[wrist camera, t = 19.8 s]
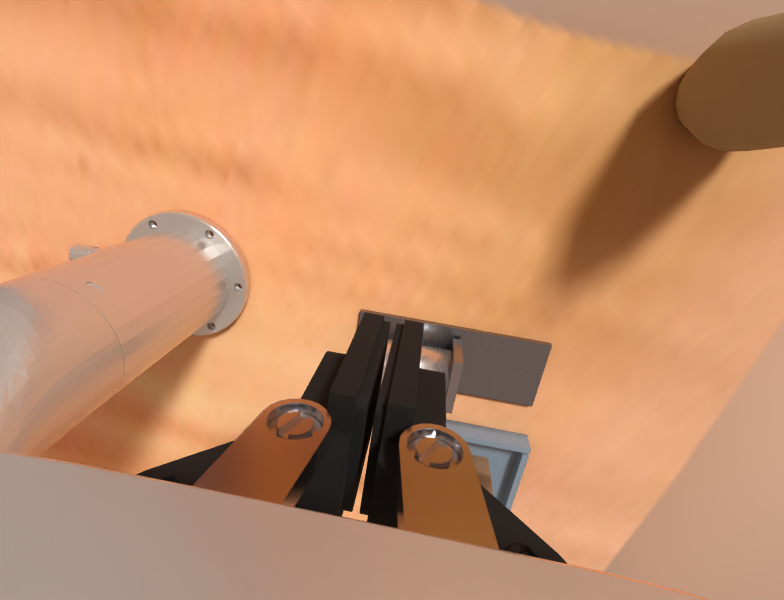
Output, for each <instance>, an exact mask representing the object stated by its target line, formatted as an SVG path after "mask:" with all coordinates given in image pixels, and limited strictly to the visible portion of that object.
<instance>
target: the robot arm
mask: <svg viewBox="0 0 784 600" xmlns="http://www.w3.org/2000/svg"><path fill="white" fill-rule="evenodd" d="M212 232H213V233H214V234H213V233H212ZM69 258H70V260H71V261H68V262H65V263H62V264H59V265H56V266H52V267H49V268H46V269H43V270H40V271H37V272H34V273H31V274H28V275H25V276H22V277H19V278H16V279H13V280H10V281H7V282H4V283H1V284H0V600H709V599H706V598H703V597H700V596H697V595H694V594H690V593H687V592H684V591H681V590H677V589H673V588H669V587H664V586H661V585H657V584H652V583H648V582H644V581H640V580H636V579H632V578H628V577H624V576H620V575H615V574H612V573H608V572H603V571H598V570H593V569H589V568H584V567H579V566H575V565H570V564H567V563H566V562H565V561H564V559H563V558H562V557H561V556H560V555H559V554H558V553H557V552H555V551H554V550H553V549H552V548H551V547H550V546H549V545H548V544H547V543H545V542H544V541H543V540H542V539H541V538H540V537H539V536H538V535H537V534H535V533H534V532H533V531H532V530H531V529H530V528H529V527H528V526H526V525H525V524H524V523H523V522H522V521H521V520H520V519H519V518H518V517H516V516H515V515H514V514H513V513H512V512H511V511H510V510H509V509H508V508H506V507H505V506H504V505H503V504H502V503H501V502H500V501H499V500H497V499H496V498H495V497H494V496H493V495H492V494H491V493H490V492H489V491H487V490H486V489H485V488H484V487H483V486H482V485H481V484H480V482H479V478H478V475H477V472H476V468H475V465H474V461H473V458H472V454H471V451H470V449H469V447H468V445H467V443H466V442H465V441H464V440H463V438H462V437H461V436H460V435H458V434H457V433H455V432H454V431H452V430H450V429H448V428H446V381H445V373H443V372H438V371H433V370H427V369H422V368H420V360H421V350H422V340H423V330H424V323H422V322H417V321H411V320H406V319H405V323H404V324H399V323H397V324H396V328H395V332H394V336H393V340H392V344H391V348H390V352H389V356H388V360H387V364H386V368H385V372H384V376H383V380H382V375H383V369H384V362H385V356H386V350H387V343H388V337H389V331H390V324H391V322H388V321H384V316H383V315H378V314H372V313H367V312H365V313H364V315H363V317H362V320H361V322H360V324H359V326H358V329H357V331H356V333H355V335H354V338H353V340H352V342H351V344H350V346H349V349H348V351H347V353H346V354H341V353H336V352H330V351H327V352H326V354H325V355H324V357H323V359H322V361H321V363H320V364H319V366H318V368H317V370H316V372H315V374H314V375H313V377H312V379H311V381H310V383H309V385H308V386H307V388H306V390H305V392H304V394H303V396H302V397H301V399H287V400H281V401H278V402H276V403H274V404H271V405H270V406H268V407H267V408H266V409H264V410H263V411H262V412H261V413H260V414H259V416H258V417H257V418H256V419H255V420H254V421H253V422H252V423H251V424H250V425H249V426H248V427H247V428H246V429H245V430H244V431H243V432H242V434H241V435H240V436H239V437H238V438H237V439H236V440H235V441H232V442H229V443H226V444H223V445H220V446H217V447H214V448H211V449H208V450H205V451H202V452H199V453H196V454H193V455H190V456H187V457H184V458H181V459H178V460H175V461H172V462H169V463H166V464H163V465H160V466H157V467H154V468H151V469H149V470H146V471H143V472H141V473H139V474H137V475H134V474H129V473H124V472H119V471H114V470H109V469H104V468H99V467H94V466H89V465H84V464H79V463H74V462H69V461H63V460H57V459H51V458H45V457H41V456H42V455H43V454H44V453H45V452H46V451H47V450H48V449H49V448H51V447H52V446H53V445H54V444H55V443H56V442H57V441H59V440H60V439H61V438H62V437H63V436H64V435H65V434H67V433H68V432H69V431H70V430H71V429H73V428H74V427H75V426H76V425H78V424H79V423H80V422H81V421H82V420H84V419H85V418H86V417H87V416H89V415H90V414H91V413H92V412H94V411H95V410H96V409H97V408H99V407H100V406H101V405H103V404H104V403H105V402H106V401H108V400H109V399H110V398H111V397H112V396H114V395H115V394H116V393H117V392H119V391H120V390H121V389H123V388H124V387H125V386H126V385H128V384H129V383H130V382H132V381H133V380H134V379H135V378H137V377H138V376H139V375H140V374H142V373H143V372H144V371H146V370H147V369H148V368H149V367H151V366H152V365H153V364H155V363H156V362H157V361H158V360H160V359H161V358H162V357H163V356H165V355H166V354H167V353H169V352H170V351H171V350H172V349H174V348H175V347H176V346H178V345H179V344H180V343H181V342H183V341H184V340H185V339H186V338H188V337H189V336H190V335H195V336H201V335H209V334H213V333H216V332H219V331H221V330H223V329H224V328H226V327H228V326H229V325H230V324H231V323H233V322H234V321H235V320H236V319H237V318H238V316H239V315H240V314H241V313H242V311H243V309H244V307H245V306H246V303H247V300H248V296H249V288H250V281H249V273H248V269H247V266H246V262H245V259H244V257H243V256H242V254H241V252H240V250H239V248H238V247H237V245H236V244H235V243H234V241H233V240H232V239H231V237H230V236H229V235H228V234H227V233H226V232H225V231H223V230H222V229H221V228H220V227H219V226H217V225H216V224H214V223H213V222H211V221H210V220H208V219H206V218H204V217H202V216H199V215H197V214H193V213H189V212H185V211H168V212H161V213H158V214H155V215H151V216H149V217H147V218H145V219H144V220H142V221H141V222H139V223H138V224H137V225H136V226H135V227H134V228H133V229H132V231H131V232H130V234H129V235H128V237H127V239H126V242H125V243H122V244H119V245H116V246H113V247H107V248H105V249H100V248H98V247H94V246H89V245H83V244H75V245H73V246H72V247H71V249H70V251H69ZM381 381H382V384H381ZM372 428H373V430H372ZM371 432H372V437H371ZM370 437H371V443H370V449H369V456H368V462H367V469H366V475H365V481H364V488H363V494H362V500H361V507H360V514H365V515H368V519H367V522H365V521H360V520H356V519H351V518H346V517H342V514H343V510H345V511H350V512H352V511H353V507H354V503H355V499H356V494H357V490H358V486H359V482H360V478H361V474H362V470H363V466H364V461H365V457H366V453H367V449H368V445H369V441H370Z"/></svg>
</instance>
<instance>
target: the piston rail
mask: <svg viewBox="0 0 784 600" xmlns="http://www.w3.org/2000/svg"><path fill="white" fill-rule="evenodd" d="M365 312H367V313H372V314H378V315H383V316H384V321H388V322H391V324H390V331H389V337H388V339H391V340H393V336H394V332H395V328H396V324H397V323H399V324H404V323H405V319H406V320H411V321H417V322H422V323H424V330H423V340H422V345H424V346H429V347H435V348H440V349H446V350H450V349H451V345H452V341H453V338H454V339H459V340H461V342H462V353H463V368H462V372H461V376H460V381H459V385H458V389H457V392H458V393H463V394H469V395H474V396H479V397H485V398H490V399H495V400H501V401H506V402H511V403H517V404H522V405H527V406H532V405H533V402H534V399H535V396H536V393H537V390H538V387H539V383H540V380H541V377H542V374H543V371H544V368H545V365H546V362H547V359H548V356H549V353H550V350H551V347H552V345H551V343H547V342H541V341H535V340H530V339H524V338H519V337H513V336H508V335H502V334H496V333H491V332H485V331H480V330H474V329H469V328H463V327H457V326H452V325H446V324H441V323H435V322H429V321H424V320H418V319H413V318H407V317H402V316H396V315H390V314H385V313H379V312H374V311H368V310H363V309H361V311H360V319H359V324H360V322H361V320H362V317H363V315H364V313H365Z"/></svg>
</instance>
